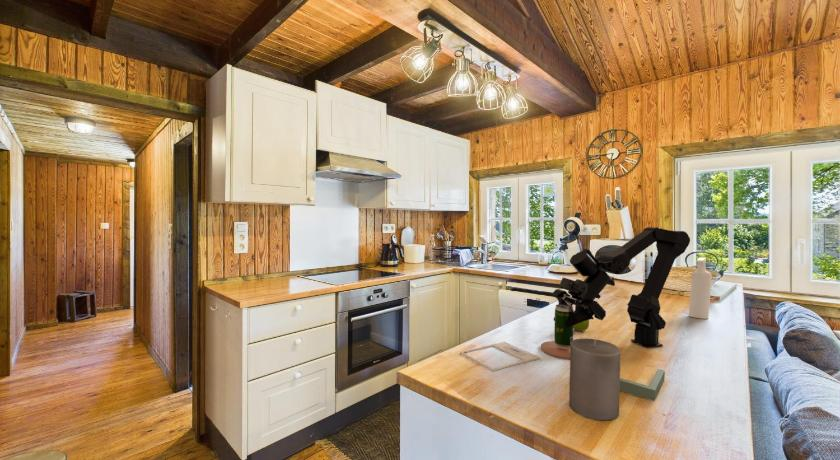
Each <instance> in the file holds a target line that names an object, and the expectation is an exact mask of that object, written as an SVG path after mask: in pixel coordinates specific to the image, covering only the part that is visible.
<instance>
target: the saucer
mask: <svg viewBox="0 0 840 460" xmlns="http://www.w3.org/2000/svg"><path fill="white" fill-rule="evenodd" d="M540 350H541V352H543V353H544V354H545V355H549V356H550V357H554V358H558V359H561V360H570V350H571V347H570V348H564V347H559V346H557V345H556V344H555V342H554V340H551V341H545V342H542V343H541V344H540Z"/></svg>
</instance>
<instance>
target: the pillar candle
mask: <svg viewBox="0 0 840 460" xmlns="http://www.w3.org/2000/svg"><path fill="white" fill-rule="evenodd" d="M569 360H570V361H569V363H570V364H569V386H568V387H569V395H568V397H569V398H568V401H569V402H568V404H569V405H568V406H569V407H570V408H571V410H572V411H574V412H575V413H576V414H577V415H580V416H582V417H583V418H586V419H589V420H593V421H613V420H616V419H617V418H618V417H619V415H620V395H621V394H620V393H621V391H620V378H621V349H620V347H618V346H617V345H615V344H614V343H612V342H608V341H605V340H600V339H596V338H586V337H585V338H576V339H573V341H571V350H570V359H569Z"/></svg>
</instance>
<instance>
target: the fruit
mask: <svg viewBox="0 0 840 460" xmlns="http://www.w3.org/2000/svg"><path fill="white" fill-rule="evenodd" d="M589 327H590V320H587V321H584V322H581V323H578V324H576V325H573V330H575V331H577V332H585V331H586V330H587V329H588V328H589Z"/></svg>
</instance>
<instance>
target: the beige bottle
mask: <svg viewBox="0 0 840 460" xmlns="http://www.w3.org/2000/svg"><path fill="white" fill-rule="evenodd" d="M696 263H697V268H696V269H695V270H693V271H692V272H691V281H690V292H689V307H688V316H689V317H692V318H697V319H700V320H701V319H702V320H704V319H705V320H707V319H709V317H710V315H709V314H710V302H711V291H712V290H711V289H712V279H713V278H712V277H713V276H712V273H711V272H709V271H708V270H707V266H706V263H707V258H706V257H699V258H697V259H696Z"/></svg>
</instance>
